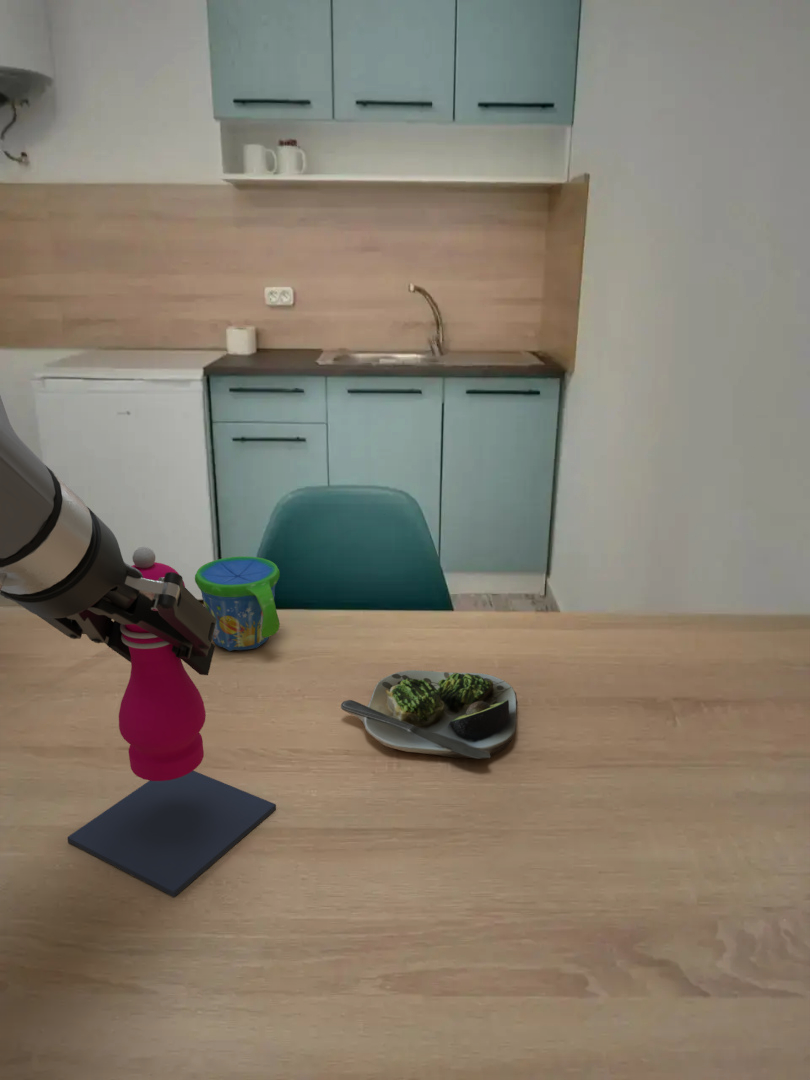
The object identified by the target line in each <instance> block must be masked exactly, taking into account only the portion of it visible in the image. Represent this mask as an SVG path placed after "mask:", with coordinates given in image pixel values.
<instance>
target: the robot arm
mask: <svg viewBox="0 0 810 1080" xmlns="http://www.w3.org/2000/svg"><path fill="white" fill-rule="evenodd" d="M183 581H184V579H183V576H182V575H180V573H179V574H177V573H174V572H168V573H166V574H165V577H160V578H159V580H158V581H156V580H151V579H145V578H143V575H142V573H141V572H140V571H139V570H138V569H136V568H134V567H132V565H130V564H128V563H126V562H125V560H124V558H123V554H122V552H121V548H120V545H119V542H118V539H117V537H116V535H115V534H114V532H113V531H112V530H111V528H109V526H108V525H107V524H106V523H105V522H103V520H101V519H100V517H99V516H98V515H97V514H96V513H95V512H93V510H91V508H89V506H87V505H86V504H85V502H84V500H83V499H82V498H81V497H80V496H79V495H78V494H77V493H76V492H75V491H74V490H73V489H72V488H70V486H68V485H67V483H65V482H64V481H63V480H62V479H61V477H59V476H58V475H57V474H56V473H55V472H54V471H53V470H52V469H50V468H49V467H48V465H46V464H45V463H44V462H43V461H42V460H41V459H40V458H39V457H38V456H37V455H36V454H35V453H34V451H32V450H31V449H30V447H28V446H27V445H26V444H25V442H24V441H23V440H22V439H21V438H20V437H19V436H18V434H17V433H16V431H15V430H14V428H13V426H12V425H11V422H10V419H9V417H8V414H7V411H6V408H5V405H4V403H3V399H2V397H1V395H0V596H2V597H3V598H4V599H8V600H11V601H12V602H15V603H16V604H18V605H20V606H21V607H22V608H24V609H25V610H27V611H28V612H30V613H31V614H33V615H36V616H37V617H39V618H40V619H42V620H43V621H44V622H46V623H48V624H49V625H50V626H51V627H53V628H55V629H56V630H57V631H59V632H60V633H61V634H63V635H65V636H66V637H68V638H70V639H71V640H80V639H81V638H82V636H83V635H85V636H87V638H88V639H89V640H90V641H91V642H93V643H95V644H105V645H106V646H107V647H108V648H109V649H111V650H112V651H114V652H115V653H117V654H118V655H119V656H120V657H122V658H124V659H125V660H126V661H128V662H129V663H131V655H130V651H129V647H128V646H127V645H125V644H124V643H123V642H122V640H121V636H122V632H121V630H120V625H121V624H136V625H137V626H139V627H141V628H143V629H145V630H147V631H148V632H150V633H152V634H154V635H156V636H157V637H159V638H161V639H163V640H165V641H166V642H168V643H170V644H172V645H173V648H172V652H173V653H175V654H176V657H177V658H180V659H181V661H182V662H184V663H185V664H187V665H188V666H189V667H190V668H191V669H193V670H194V671H195V672H196V673H197V674H198V675H200V676H209V672H210V669H211V664H212V660H213V656H214V652H215V648H216V646H215V645H214V644H213V643H212V642H213V633H214V629H215V625H216V621H217V619H216V618H215V617H214V616H213V615H212V614H211V613H210V612H209V611H208V610H207V609H206V608H205V606H204V604H203V603H202V602H200V601H199V600H198V598H196V597H195V596H194V595H193V594H192V592H190V590H188V588H186V586H185V587H184V586H183Z"/></svg>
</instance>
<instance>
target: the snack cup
mask: <svg viewBox="0 0 810 1080" xmlns="http://www.w3.org/2000/svg"><path fill="white" fill-rule="evenodd" d="M280 576H281V574H280V569H279V568H278V565H277V564H276V563H274V562H273V561H271V560H269V559H266V558H263V557H259V556H258V557H257V556H248V555H247V556H245V555H244V556H240V555H239V556H229V557H224V558H223V557H222V558H219V559H215V560H212V561H209V562H207V563H204V564H203V565H201V566H200V567H199V568H198V569H197V570H196V573H195V574H194V582H195V584H196V585H197V587H198V589H199V590H200V592H201V598H202V600H203V601H202V602H203V606H204V607H205V608H206V609H207V610H208V611H209V612H210V613H211V614H212V615H213V616H214V617H215V618H216V619H217V621H216V625H215V629H214V633H213V638H212V642H214V643H215V645H216V646H218V647H219V648H224V649H225V650H227V651H229V652H231V651H234V650H235V651H248V650H252V649H257V648H259V647H260V646H261V645H263V644H265V643H266V642H267V641H268V640H269V638H270V637H271V636H274V635H276V634H277V632H279V630H280V625H281V623H280V619H279V615H278V611H277V608H276V603H275V597H276V595H275V591H276V590H275V589H276V585H277V583H278V581H279V579H280Z"/></svg>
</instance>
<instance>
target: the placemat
mask: <svg viewBox="0 0 810 1080" xmlns="http://www.w3.org/2000/svg"><path fill="white" fill-rule="evenodd" d="M276 810H277V804H276V803H274V802H271V801H269V800H267V799H264V798H262V797H259V796H256V795H254V794H252V793H250V792H247V791H246V790H245V791H244V790H242V789H239V788H237V787H234V786H232V785H230V784H228V783H225V782H222V781H220V780H218V779H215V778H213V777H210V776H208V775H205V774H203V773H200V772H198V771H195V770H193V771H192V772H190V773H188V774H186V775H184V776H182V777H179V778H176V779H172V780H166V781H150V780H147V781H146V783H144V784H143V785H141V786H139V787H137V788H136V789H135V790H134V791H132V792H130V793H129V794H128V795H126V796H124V797H123V798H122V799H121V800H119V801H118V802H116V803H115V804H113V805H112V806H111V807H109V808H107V809H106V810H104V811H103V812H101V813H100V814H99V815H97V816H96V817H94V818H93V819H92V820H89V822H87V823H86V824H84V825H83V826H81V827H79V829H77V830H75V831H74V832H73V833H71V834H69V835H68V836H67V838H66V839H67V843H68V844H70V845H72V846H74V847H76V848H78V849H80V850H82V851H84V852H86V853H87V854H90V855H92V856H93V857H95V858H97V859H99V860H101V861H103V862H105V863H107V864H109V865H111V866H113V867H115V868H117V869H119V870H120V871H122V872H124V873H126V874H129V875H130V876H132V877H134V878H136V879H138V880H140V881H141V882H144V883H146V884H148V885H150V886H151V887H154V888H155V889H157V890H159V891H161V892H163V893H165V894H167V895H169V896H170V897H173V898H175V897H177V896H178V895H179V894H180V893H181V892H182V891H183V890H185V889H186V888H187V887H188V886H189V885H190V884H192V883H193V882H194V881H195V880H196V879H197V878H198V877H200V876H201V875H202V874H203V873H205V871H207V870H208V869H209V868H211V866H212V865H214V864H215V863H216V862H217V861H218V860H220V858H221V857H223V856H224V855H225V854H227V853H228V852H229V851H230V850H231V849H232V848H234V847H235V846H236V845H237V844H238V843H239V842H240V841H241V840H243V839H244V838H245V837H246V836H247V835H249V834H250V832H252V831H253V830H254V829H256V828H257V827H258V826H259V825H260V824H261V823H262V822H263V821H264V820H265V819H266V818H268V817H269V816H270V815H272V814H273V813H274V812H275V811H276Z"/></svg>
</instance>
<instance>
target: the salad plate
mask: <svg viewBox="0 0 810 1080" xmlns="http://www.w3.org/2000/svg"><path fill="white" fill-rule="evenodd" d="M518 704H519V703H518V699H517V692H516V691H515V689H514V687H513V686H512V685H511V684H509V682H507V681H505V680H503V679H502V678H499V677H497V676H494V675H491V674H488V673H487V674H486V673H480V672H479V673H478V672H449V671H434V670H422V669H421V670H416V669H409V670H402V671H397V672H395V673H392V674H389V675H386V676H385V677H383V678H381V679H380V680H379V681H378V682H377V684H376V685H375V686H374V689H373V692H372V694H371V697H370V700H369V703H368V704H367V705H365V704H362V703H360V702H358V701H355V700H353V699H348V700H343V701H342V702H341V704H340V709H341V710H342V711H344V712H345V713H347V714H350V715H351V716H354V717H356V718H357V719H359V720H360V721H361V722H362V723H363V726H364V728H365V731H366V733H368V735H370V736H371V737H372V738H374V739H375V740H376V741H378V742H379V743H380V744H381V745H383V746H384V747H387V748H391V749H395V750H398V751H403V752H407V753H417V754H426V755H432V756H433V755H435V756H440V757H446V758H451V759H467V760H468V759H469V760H470V759H471V760H474V759H475V760H477V759H479V760H481V759H491V756H494V755H496V754H498V753H500V752H501V751H503V750H504V749H505V748H506V747H507V746H508V745H509V744H510V742H511V741H512V740H513V739H514V736H515V734H516V731H517V710H518Z"/></svg>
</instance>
